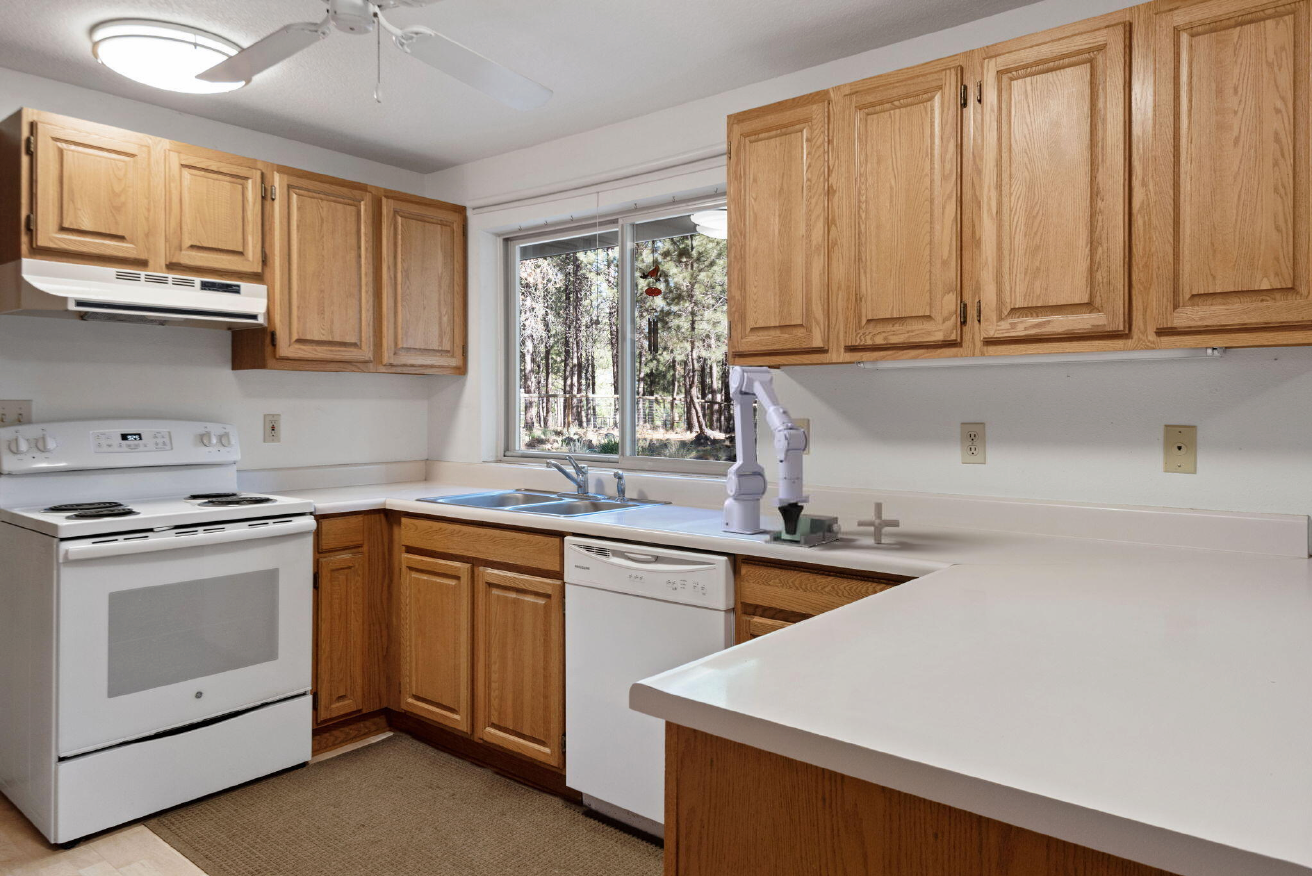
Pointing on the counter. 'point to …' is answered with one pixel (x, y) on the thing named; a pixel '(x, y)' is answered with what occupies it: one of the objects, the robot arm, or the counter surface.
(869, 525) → the pipe connector
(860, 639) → the counter surface
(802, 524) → the pale mint cube
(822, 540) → the motor mount
